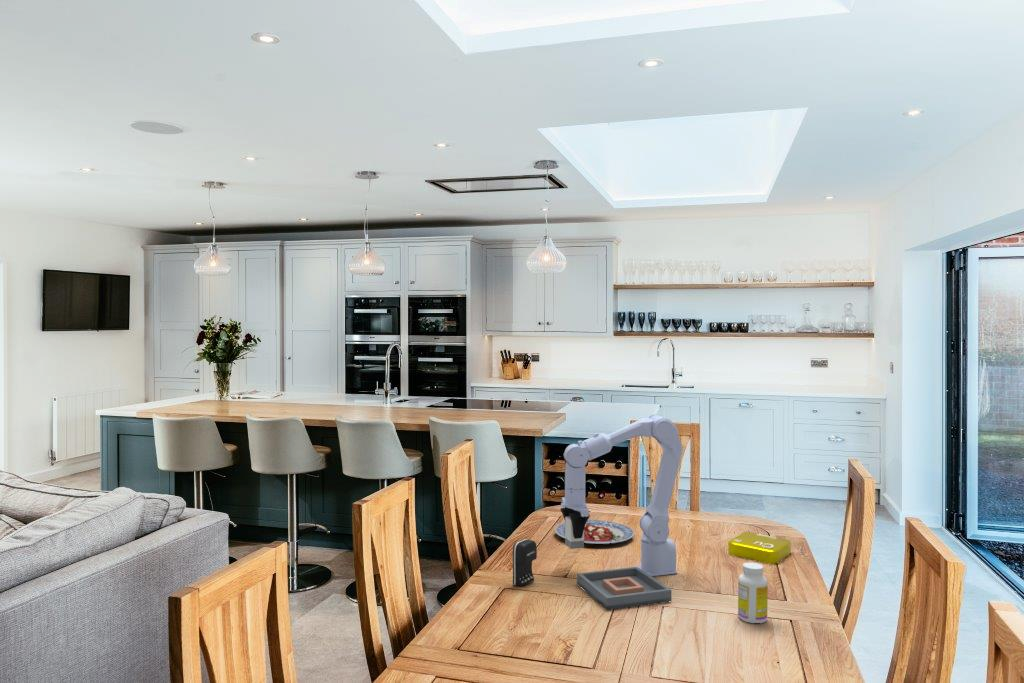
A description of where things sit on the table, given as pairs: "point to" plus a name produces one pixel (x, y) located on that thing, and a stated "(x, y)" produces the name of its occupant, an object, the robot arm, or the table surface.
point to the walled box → (623, 588)
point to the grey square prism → (572, 536)
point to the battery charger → (523, 561)
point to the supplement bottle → (752, 594)
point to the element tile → (759, 547)
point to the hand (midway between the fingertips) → (574, 535)
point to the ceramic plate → (601, 532)
